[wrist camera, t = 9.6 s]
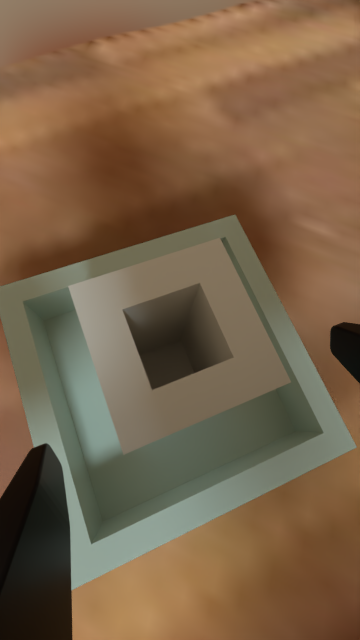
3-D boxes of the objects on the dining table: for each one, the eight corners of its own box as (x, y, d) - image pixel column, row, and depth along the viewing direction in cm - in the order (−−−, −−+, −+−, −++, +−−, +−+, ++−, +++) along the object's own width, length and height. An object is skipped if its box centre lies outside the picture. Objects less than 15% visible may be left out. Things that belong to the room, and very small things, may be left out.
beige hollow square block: (228, 400, 19) (291, 382, 10) (138, 439, 18) (123, 455, 9) (191, 316, 20) (219, 237, 12) (106, 347, 19) (68, 285, 10)
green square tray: (316, 442, 19) (356, 447, 15) (90, 551, 16) (71, 590, 13) (221, 249, 23) (235, 214, 19) (23, 313, 20) (-7, 288, 16)
